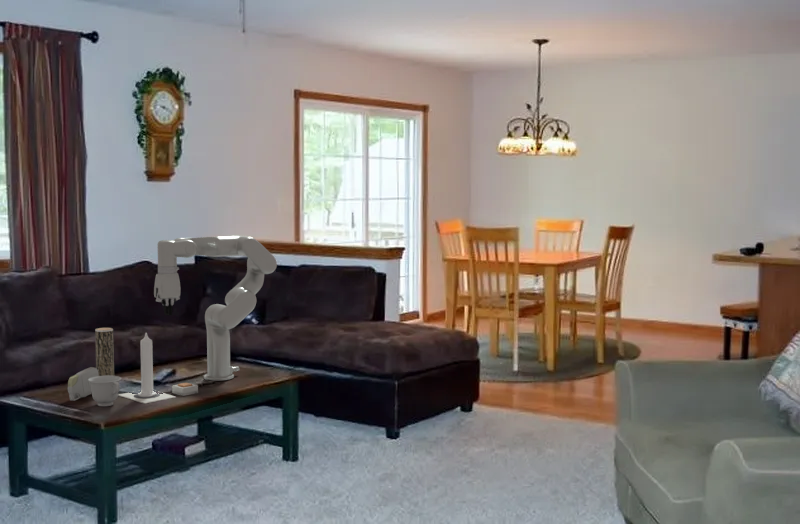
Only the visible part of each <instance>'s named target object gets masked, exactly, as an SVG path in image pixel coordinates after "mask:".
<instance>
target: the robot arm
mask: <svg viewBox="0 0 800 524" xmlns="http://www.w3.org/2000/svg"><path fill="white" fill-rule="evenodd" d="M194 256H205V257H212V258H213V257H215V258H218V257H238V256H242V257H247V260H246V261H247V262H246V267H247V268H246V269H247V270H246V273H245V276H244V277H243V278H242V279H241V281H239V282H238V283H237V284H236V285H235V286H233V287H232V289H230V290H229V291H228V292H227V293H226V295H225V298H224V303H225V304H226V305H224V304H219V303H216V304H215V303H214V304H211V305H210V306H209V307H207V308H206V310H205V314H204V323H205V328H206V348H207V350H206V352H207V353H206V355H207V356H206V359H207V361H206V362H207V373H206V374H204V375H203V379H204V380H206V381H214V382H216V381H217V382H219V381H228V380H229V381H230V380H232V379H233V378H234V377H235V374H234V372H238V371H240V367H239V366H232V365H231V336H230V335H231V334H230V333H231V332H230V330H232V329H234V328H235V327H237V326H238V325H239V324H240V323H241V322H242V321H243V320H244V319H245V318H247V317H248V316H249V314H250V313H251V312H253V310H254V309H255V308H256V304H257V302H258V301H257V297H256V294H258V293H259V291H261V288H262V287H263V285H264V281H265V275H269V274H272V273H274V271H276V269H277V267H278V266H277V265H278V262H277V259H276V257H275V256H274V255H273V254H272V252H270V251H269V249H267V248H266V247H265V246H264V245H263V244H262V243H261V242H259V241H258V240H257V239H256V238H255V237H252V236H248V235H226V236H224V235H223V236H206V237H205V236H204V237H202V236H201V237H177V238H174V239H173V240H172V239H168V240H167V239H165V240H164V239H163V240H159V241H158V242H157V273H156V275H155V279H154V287H153V295H154V298H156V299H155V302H158V303H161V304H162V306H163V312H164V316H168V317H169V316H173V305H174V304H175V303H176V302H177V301H178V300H181V282H180V281H181V280H180V276H179V273H178V270H180V267H179V266H178V263H177V262H178V260H177V259H178V258H184V259H187V258H192V257H194Z"/></svg>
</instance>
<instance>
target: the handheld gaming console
mask: <svg viewBox="0 0 800 524" xmlns="http://www.w3.org/2000/svg"><path fill="white" fill-rule="evenodd" d="M96 376H99V375H98V370H97V368H96V367H93V366H90V367H88V368H85V369H83V370H81V371H79V372H77V373H76V374H74V375H71V376H70V377H69V379H68V381H67V392H68V396H69V397H68V398H69V401H71V402H73V401H74V402H75V401H77V400H79V399H82V398H86V397H87V396H89V395H92V391H91V385H90V382H89V381H88V379H89V378H92V377H96Z"/></svg>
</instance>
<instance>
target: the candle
mask: <svg viewBox="0 0 800 524" xmlns="http://www.w3.org/2000/svg"><path fill="white" fill-rule="evenodd" d="M139 344H140V384H141V385H140V389H141V392H140V393H138V396H140V397H153V396H156V395H157V393H156V392H154V391H153V390H154V371H153V370H154V368H153V367H154V366H153V365H154V363H153V362H154V361H153V360H154V359H153V357H154V356H153V353H154V352H153V339H151V338H150V337H149V335H148V333H147V332H145V333H144V336H143V338H142V339H140V343H139Z"/></svg>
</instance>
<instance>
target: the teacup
mask: <svg viewBox="0 0 800 524" xmlns="http://www.w3.org/2000/svg"><path fill="white" fill-rule="evenodd" d="M121 380H122V377H121V376H119V375H114V376H112V375H105V376H96V377H92V378H89V379H88V381H89V382H90V385H91V391H92V393H91V395H92V399H93V400H94V402H96V403H97V406H98V407H109V406H113V405H114V401H115V400H117V398H118V397H119V396H118V394H119V391H120V390H121V389H120V381H121Z"/></svg>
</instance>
